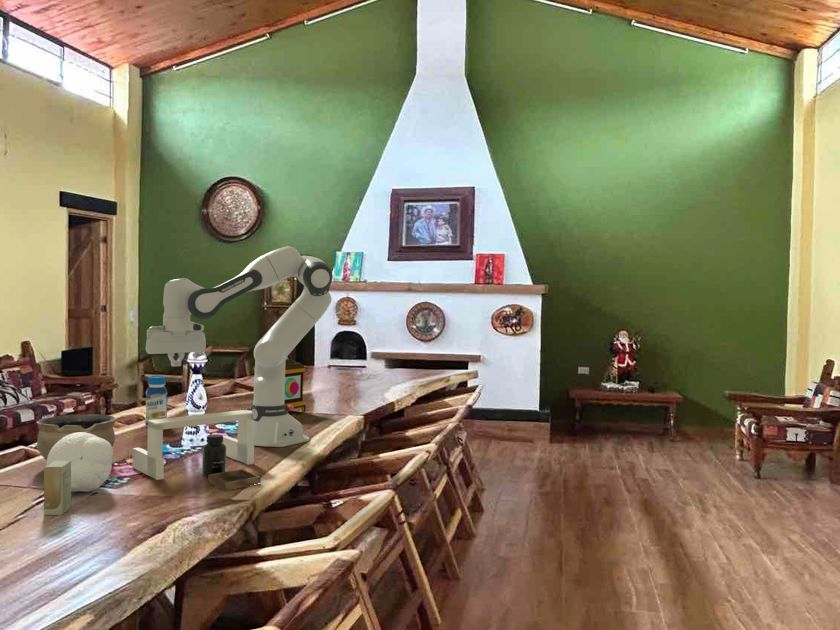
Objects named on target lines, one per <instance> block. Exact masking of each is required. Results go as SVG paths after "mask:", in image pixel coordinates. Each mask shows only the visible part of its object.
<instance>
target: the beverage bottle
mask: <svg viewBox="0 0 840 630" xmlns="http://www.w3.org/2000/svg"><path fill="white" fill-rule="evenodd" d="M166 383H167V377H166V376H165V375H161V374H160V375H157V374H155V375H148V376H147V384H148V387H147V389H146V391H145V396H146V397H145V400H144V402H145V421H144V422H145V427H147V428H148V420H155V419H164V418H168V402H169V399H168V395H169V394H168V390H167V388H166V386H165V385H166Z"/></svg>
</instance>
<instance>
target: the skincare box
mask: <svg viewBox="0 0 840 630" xmlns="http://www.w3.org/2000/svg"><path fill="white" fill-rule="evenodd" d="M43 468H44V469H43V472H44V473H43V515H44V516H62V515H63V514H65V513H66V512H67V511H68V510H70V508H72V491H71V461H53V462H51V463H50V464H48V465H47V464H46V465H45V466H44V467H43Z"/></svg>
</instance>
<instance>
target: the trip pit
mask: <svg viewBox="0 0 840 630" xmlns="http://www.w3.org/2000/svg"><path fill="white" fill-rule="evenodd" d="M207 480H208V481H207V482H208V483H209V484H211V485H214V486H215V487H217V488H219V489H221V490H223V491H232V489H233V490H238V489H237V488H239V489H242V488H241V487H244V488H247V487H246V486H249V487H251V486H250V485H254V484H258V483H262V476H260V475H257V474H255V473H253V472H250V471H248V470H245V469H244V468H242V469H241V468H240V469H234V470H229V471H225V472H222V473H216V474H210V475H208V477H207ZM254 486H255V485H254Z"/></svg>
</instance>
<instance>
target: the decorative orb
mask: <svg viewBox="0 0 840 630" xmlns="http://www.w3.org/2000/svg"><path fill="white" fill-rule="evenodd" d="M113 459H114V449H113V447H112V446H111V445H110V443H109V442H108V441H106V440H105V439H102V438H99V437H97V436H95V435H93V434H89V433H86V432H77V433H73V434H70V435H67V436H65V437H63V438H62V439H61V440H59V441H58V442H57V443H56V444H55V445H54V446H53V447H52V449H51V450H50V452H49V455H48V458H47V461H46V465H48V464H50V463H51V462H53V461H71V492H75V493H76V492H83V493H89V492H92V491H95V490H97V489H99V487H100V486H102V485H103V484H104V483H105V481H107V480H108V479H109V477H110V474H111V472H112V469H113V465H112V461H113Z"/></svg>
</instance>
